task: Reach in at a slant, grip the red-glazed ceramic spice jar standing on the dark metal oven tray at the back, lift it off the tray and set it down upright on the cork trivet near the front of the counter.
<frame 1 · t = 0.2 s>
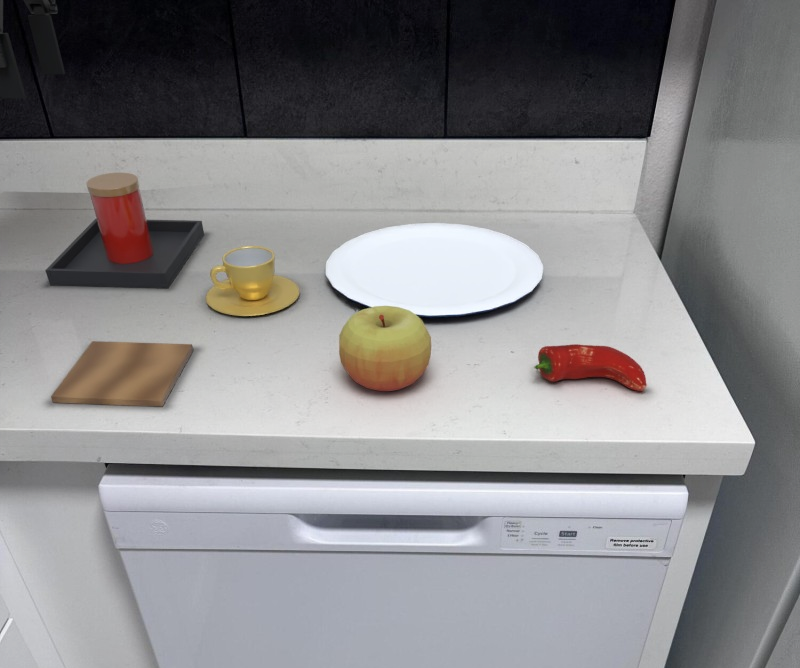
hand: (35, 85, 98), 21 cm above the counter, tool pointing down, fingers open, 13 cm apart
spice jar: (130, 254, 111), point 1 cm above the counter, touching oven tray
apple: (385, 380, 87), on the counter
plate: (433, 276, 106), on the counter
oven tray: (131, 258, 111), on the counter
vegetable: (586, 382, 86), on the counter
trivet: (126, 375, 88), on the counter
cup: (253, 298, 102), on the counter
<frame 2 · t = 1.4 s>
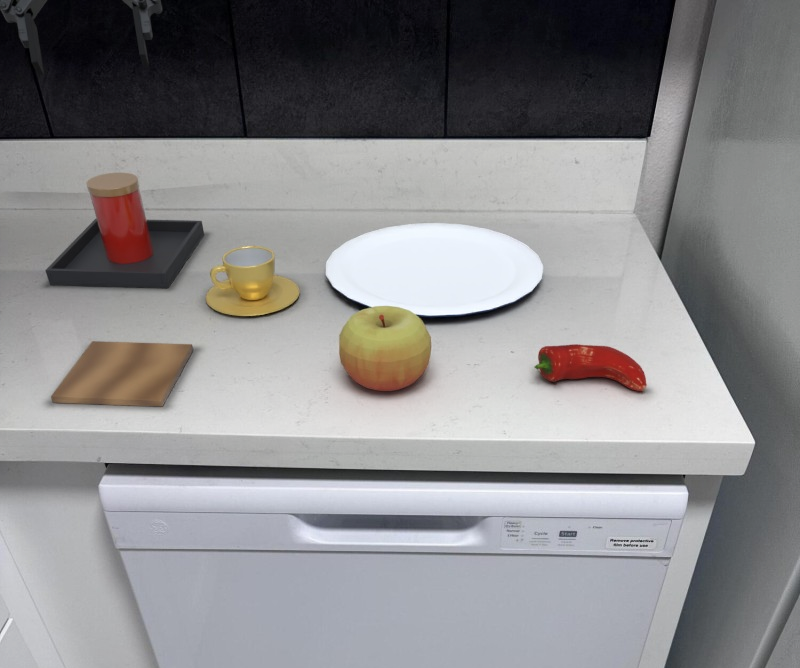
hand: (91, 65, 104), 22 cm above the counter, tool tilted 45°, fingers open, 13 cm apart
nothing on the counter moved.
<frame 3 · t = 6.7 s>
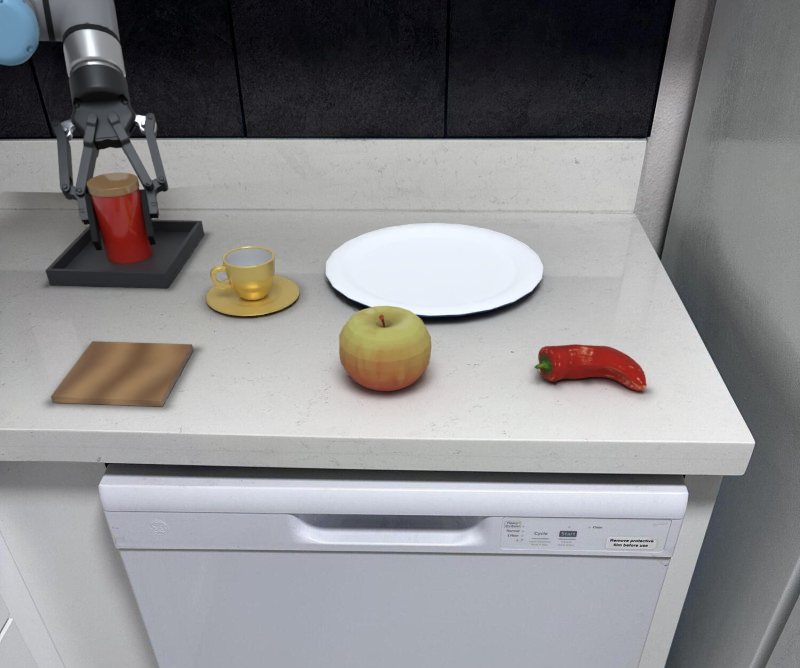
hand: (124, 242, 106), 4 cm above the counter, tool tilted 45°, fingers closed on spice jar, 6 cm apart
spice jar: (130, 254, 111), point 1 cm above the counter, touching gripper, oven tray
everything else where it was.
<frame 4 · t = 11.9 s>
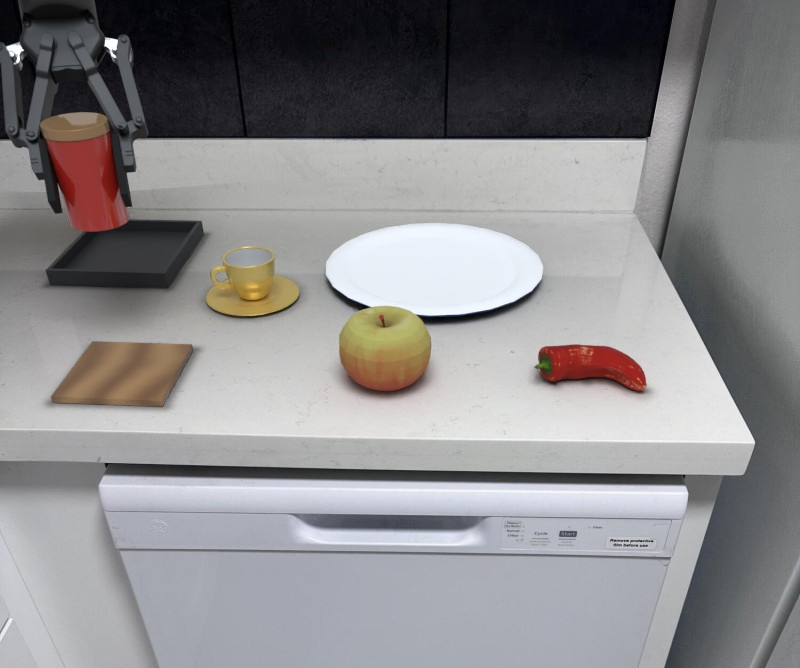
hand: (91, 203, 82), 16 cm above the counter, tool tilted 45°, fingers closed on spice jar, 6 cm apart
spice jar: (100, 220, 86), point 13 cm above the counter, touching gripper
everything else where it was.
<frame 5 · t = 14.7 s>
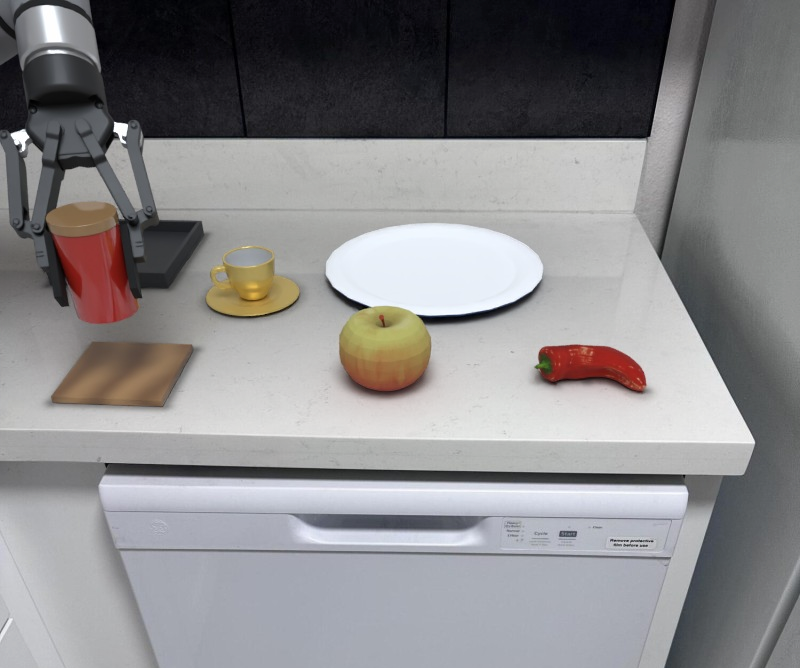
hand: (99, 297, 78), 11 cm above the counter, tool tilted 45°, fingers closed on spice jar, 6 cm apart
spice jar: (108, 309, 83), point 8 cm above the counter, touching gripper
everything else where it was.
when the fingers open (4 cm above the counter, at t = 17.0 s): spice jar stays where it is, resting on trivet.
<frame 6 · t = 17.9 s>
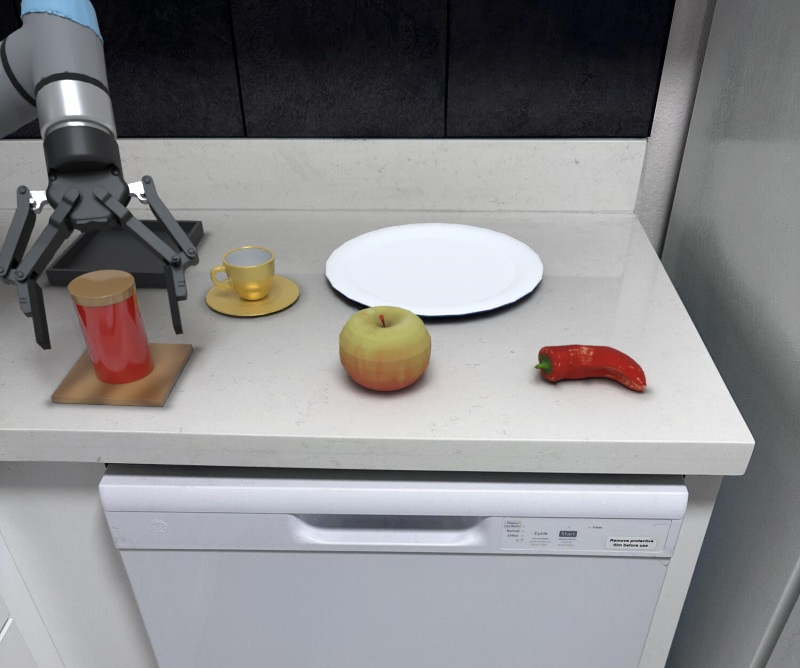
hand: (112, 338, 82), 6 cm above the counter, tool tilted 45°, fingers open, 13 cm apart
spice jar: (125, 369, 87), point 1 cm above the counter, touching trivet
everything else where it was.
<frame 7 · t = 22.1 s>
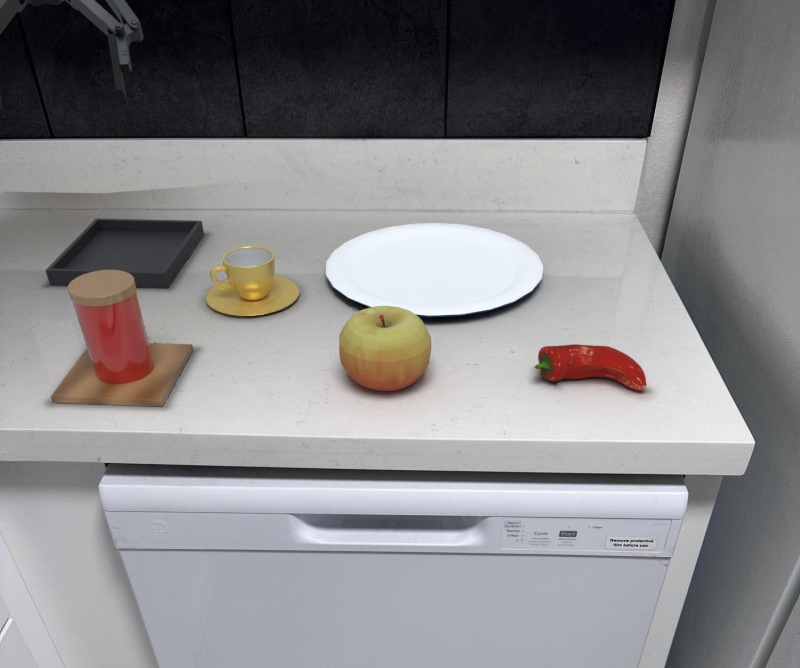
hand: (59, 101, 88), 23 cm above the counter, tool tilted 45°, fingers open, 13 cm apart
nothing on the counter moved.
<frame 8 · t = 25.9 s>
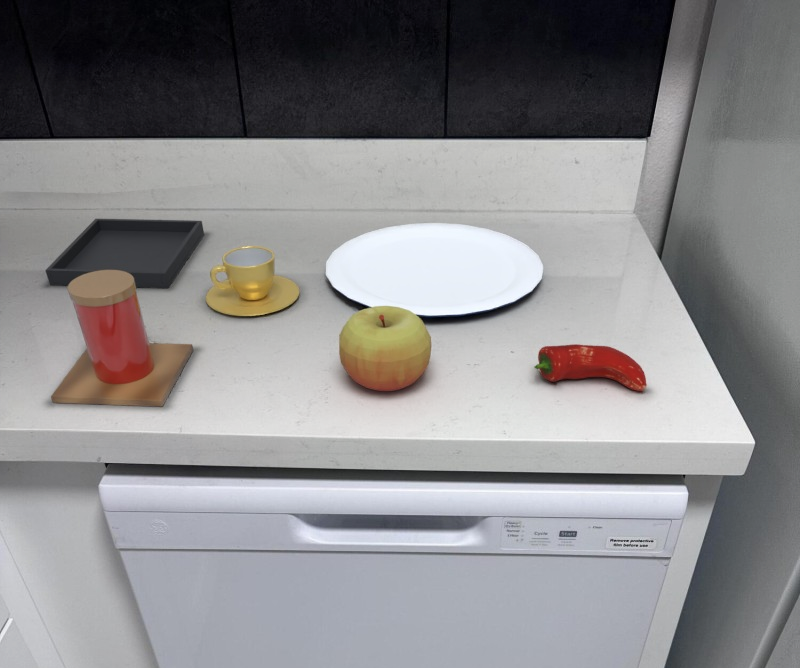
nothing on the counter moved.
at the end: spice jar inside the target area on the trivet (0.0 cm from its centre), point 0.8 cm above the trivet's base; spice jar tilted 0°; spice jar touching trivet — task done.
